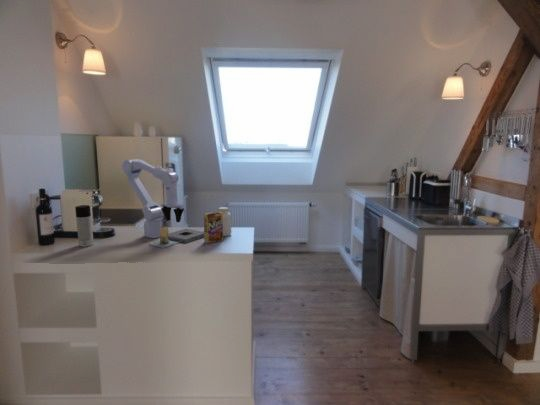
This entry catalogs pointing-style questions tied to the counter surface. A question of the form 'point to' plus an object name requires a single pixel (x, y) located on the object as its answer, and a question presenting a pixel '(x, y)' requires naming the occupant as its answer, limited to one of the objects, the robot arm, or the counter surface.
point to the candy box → (213, 227)
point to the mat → (164, 244)
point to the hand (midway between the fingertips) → (173, 221)
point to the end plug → (164, 235)
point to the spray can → (84, 225)
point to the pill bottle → (226, 221)
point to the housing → (190, 236)
